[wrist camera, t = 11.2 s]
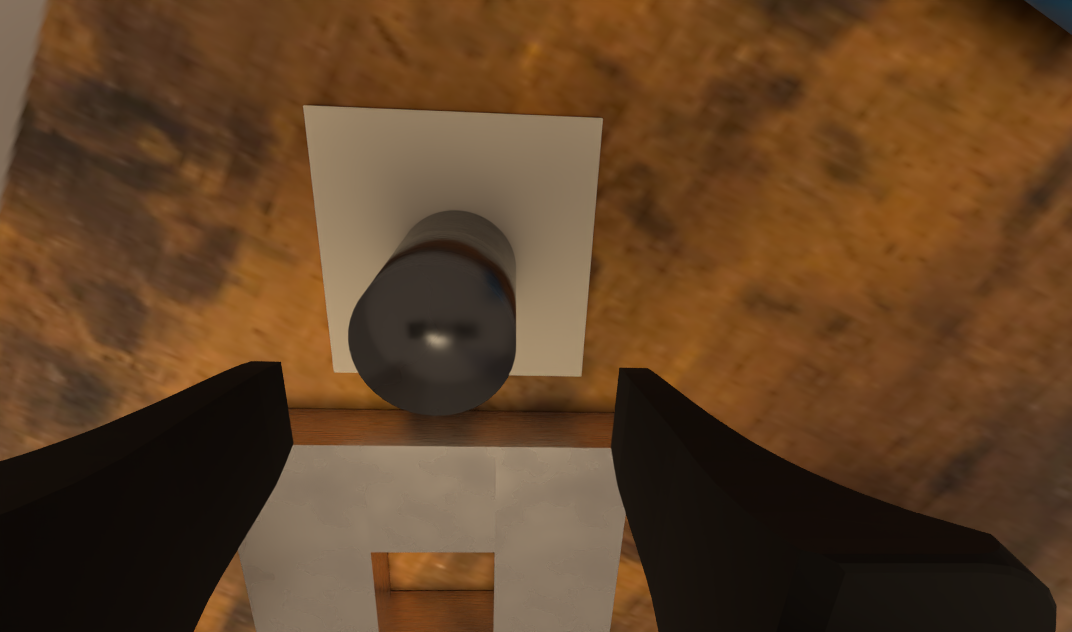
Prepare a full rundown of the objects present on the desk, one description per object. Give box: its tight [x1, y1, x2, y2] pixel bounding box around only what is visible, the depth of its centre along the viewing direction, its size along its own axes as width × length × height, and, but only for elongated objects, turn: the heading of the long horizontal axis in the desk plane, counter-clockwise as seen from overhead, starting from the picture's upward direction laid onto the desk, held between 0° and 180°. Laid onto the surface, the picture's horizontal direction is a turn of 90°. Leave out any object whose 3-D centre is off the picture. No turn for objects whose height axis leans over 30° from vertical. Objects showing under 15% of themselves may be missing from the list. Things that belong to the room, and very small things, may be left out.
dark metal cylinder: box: [348, 210, 516, 416], centre depth 17 cm, size 4×4×6 cm
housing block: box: [238, 409, 626, 632], centre depth 25 cm, size 16×16×2 cm
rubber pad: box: [303, 105, 603, 376], centre depth 20 cm, size 10×10×1 cm
